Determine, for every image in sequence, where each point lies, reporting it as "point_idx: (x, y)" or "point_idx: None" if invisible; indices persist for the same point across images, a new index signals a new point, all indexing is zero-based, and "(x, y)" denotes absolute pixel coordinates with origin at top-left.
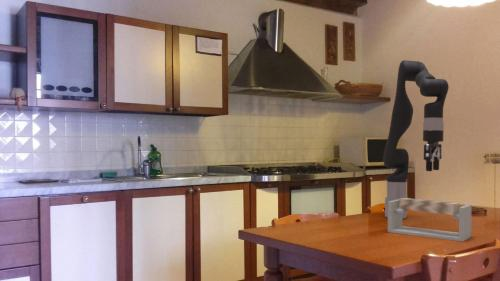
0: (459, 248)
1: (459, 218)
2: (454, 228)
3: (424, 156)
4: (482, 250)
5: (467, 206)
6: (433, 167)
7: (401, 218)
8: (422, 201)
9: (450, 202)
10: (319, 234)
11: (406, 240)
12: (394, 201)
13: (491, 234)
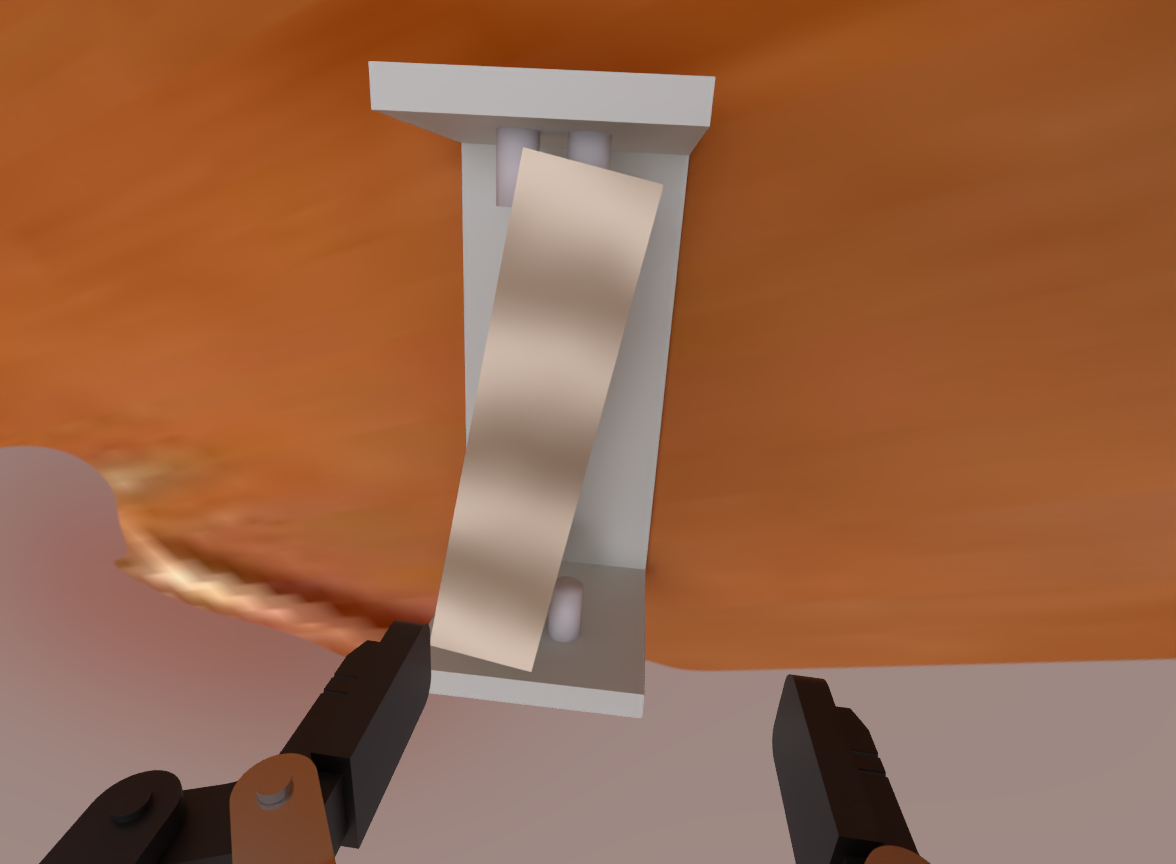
0: (308, 563)
1: (432, 620)
2: (924, 465)
3: (59, 861)
4: (339, 640)
5: (521, 703)
6: (796, 709)
7: (674, 148)
8: (475, 410)
9: (537, 615)
10: None
11: (303, 308)
12: (458, 113)
13: (800, 653)
